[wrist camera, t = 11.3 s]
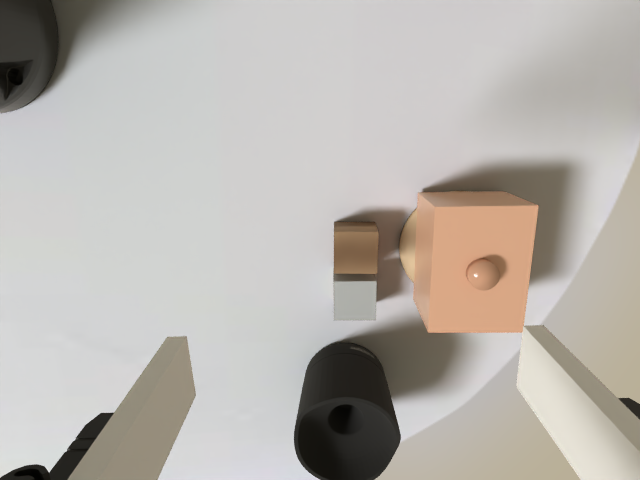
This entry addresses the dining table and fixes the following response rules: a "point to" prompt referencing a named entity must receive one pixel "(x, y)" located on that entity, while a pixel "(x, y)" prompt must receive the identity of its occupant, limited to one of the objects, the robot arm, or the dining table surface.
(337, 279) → the light gray cube
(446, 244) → the tan block with knob
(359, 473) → the pen holder
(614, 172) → the dining table surface
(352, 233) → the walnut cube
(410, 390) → the dining table surface
